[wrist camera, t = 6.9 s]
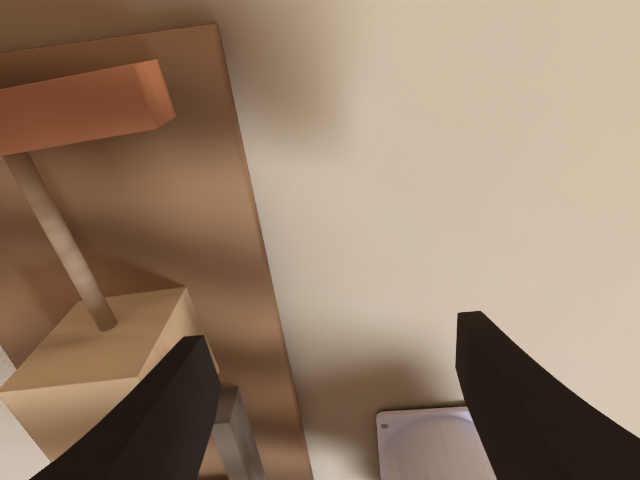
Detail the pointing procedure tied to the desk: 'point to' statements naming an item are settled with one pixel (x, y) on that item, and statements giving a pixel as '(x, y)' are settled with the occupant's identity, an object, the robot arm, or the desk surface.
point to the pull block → (95, 310)
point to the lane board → (161, 238)
